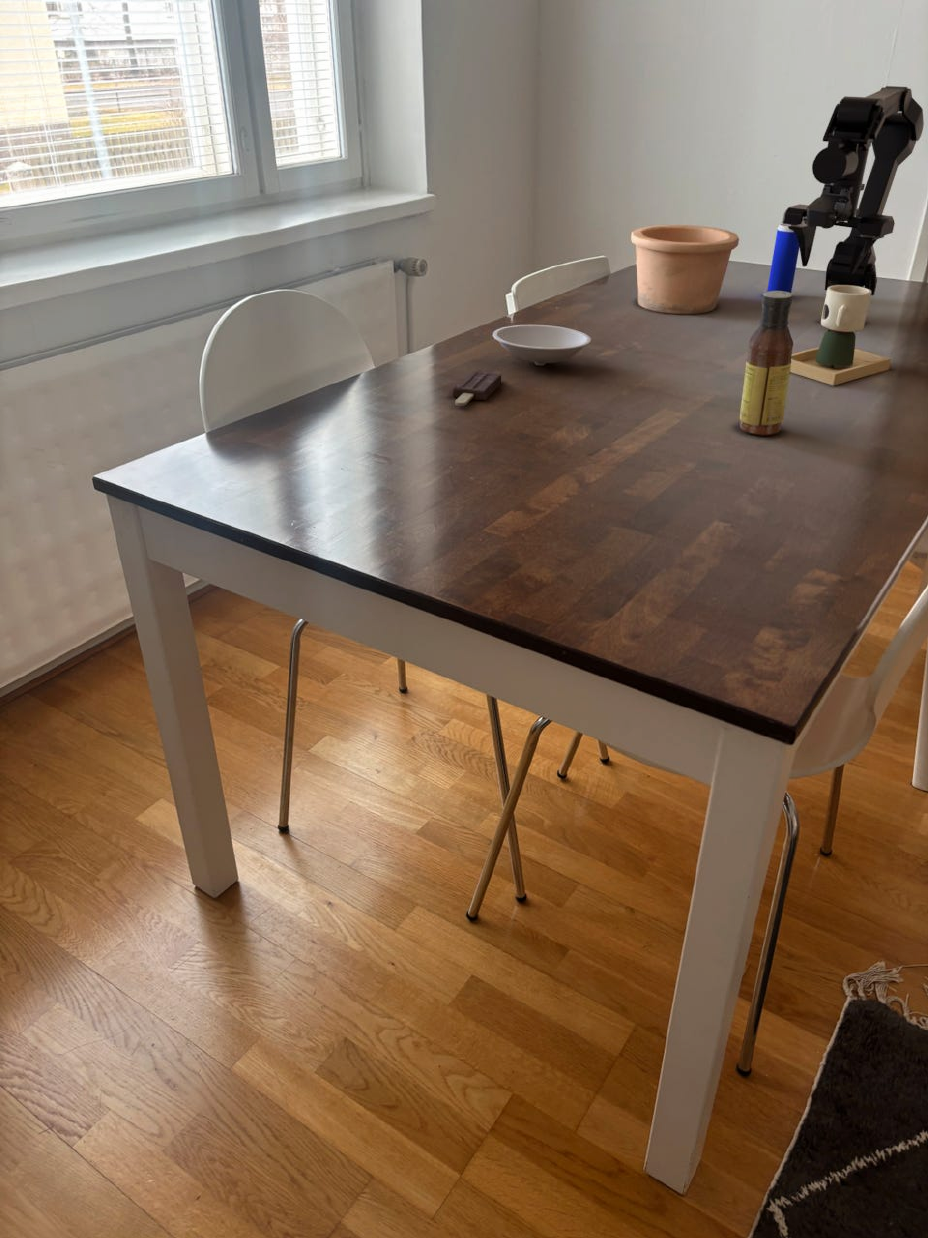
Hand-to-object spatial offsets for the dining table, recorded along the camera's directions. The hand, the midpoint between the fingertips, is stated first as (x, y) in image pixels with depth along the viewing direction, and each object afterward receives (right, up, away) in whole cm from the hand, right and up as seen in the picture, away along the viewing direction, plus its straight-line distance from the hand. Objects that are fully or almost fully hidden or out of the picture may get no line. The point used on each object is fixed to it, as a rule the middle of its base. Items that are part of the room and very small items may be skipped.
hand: (827, 269), depth 176 cm
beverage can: (+3, +7, +36) cm, 37 cm away
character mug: (-2, -20, -8) cm, 22 cm away
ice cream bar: (-66, -28, -20) cm, 74 cm away
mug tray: (-2, -20, -8) cm, 22 cm away
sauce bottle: (-23, -36, -33) cm, 54 cm away
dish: (-54, -19, -6) cm, 58 cm away
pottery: (-21, +3, +30) cm, 37 cm away
